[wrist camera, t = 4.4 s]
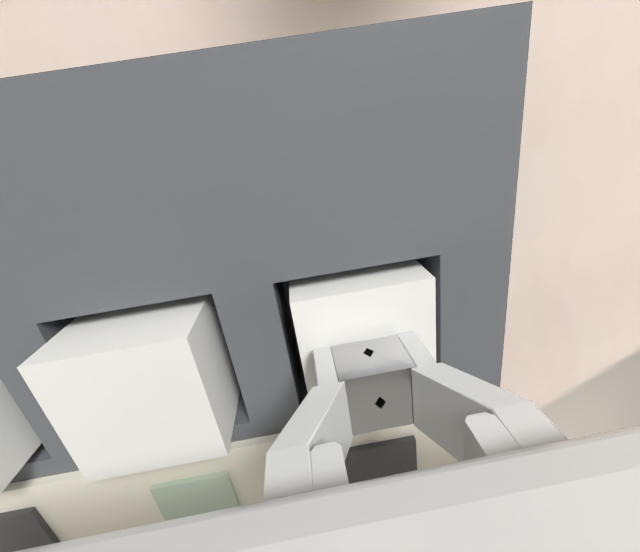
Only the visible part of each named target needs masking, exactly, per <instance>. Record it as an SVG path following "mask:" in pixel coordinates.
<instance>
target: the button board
mask: <svg viewBox="0 0 640 552" xmlns="http://www.w3.org/2000/svg"><path fill="white" fill-rule="evenodd" d="M532 2H533V1H529V2H522V3H515V4H508V5H501V6H494V7H488V8H481V9H474V10H467V11H460V12H453V13H446V14H439V15H432V16H426V17H419V18H412V19H405V20H398V21H391V22H384V23H377V24H371V25H364V26H357V27H350V28H343V29H336V30H329V31H322V32H316V33H309V34H302V35H295V36H288V37H281V38H274V39H267V40H261V41H254V42H247V43H240V44H233V45H226V46H219V47H212V48H205V49H199V50H192V51H185V52H178V53H171V54H164V55H157V56H150V57H144V58H137V59H130V60H123V61H116V62H109V63H102V64H95V65H89V66H82V67H75V68H68V69H61V70H54V71H47V72H40V73H34V74H27V75H20V76H13V77H6V78H0V379H1V381H2V382H3V384H4V385H5V387H6V388H7V390H8V391H9V393H10V394H11V396H12V398H13V399H14V401H15V402H16V404H17V405H18V407H19V408H20V410H21V411H22V413H23V415H24V416H25V418H26V419H27V421H28V422H29V424H30V425H31V427H32V428H33V430H34V432H35V433H36V435H37V436H38V438H39V439H40V441H41V442H42V443H41V445H40V446H39V447H38V448H37V450H36V451H35V452H34V453H33V454H32V456H31V457H30V458H29V459H28V461H27V462H26V463H25V464H24V466H23V467H22V468H21V469H20V471H19V472H18V473H17V474H16V476H15V477H14V478H13V479H12V481H11V482H10V483H9V484H8V485H7V487H6V488H5V489H4V490H3V492H2V493H1V494H0V552H14V551H19V550H24V549H29V548H34V547H39V546H44V545H49V544H53V543H58V542H63V541H68V540H73V539H78V538H83V537H88V536H93V535H98V534H103V533H108V532H113V531H118V530H123V529H128V528H133V527H138V526H143V525H148V524H153V523H158V522H163V521H168V520H173V519H177V518H182V517H187V516H192V515H197V514H202V513H207V512H212V511H217V510H222V509H227V508H232V507H237V506H242V505H247V504H252V503H257V502H262V501H263V498H264V482H265V465H266V453H267V451H268V450H269V448H270V447H271V446H272V444H273V443H274V441H275V440H276V438H277V437H278V436H279V434H280V433H281V431H282V430H283V428H284V427H285V426H286V424H287V423H288V421H289V420H290V418H291V417H292V415H293V414H294V413H295V411H296V410H297V408H298V407H299V405H300V404H301V403H302V401H303V400H304V398H305V397H306V395H307V394H308V392H307V387H306V382H305V377H304V372H303V367H302V362H301V357H300V352H299V348H298V343H297V338H296V333H295V328H294V323H293V318H292V313H291V308H290V301H289V281H290V280H296V279H301V278H307V277H313V276H319V275H325V274H331V273H337V272H343V271H348V270H354V269H360V268H366V267H372V266H378V265H384V264H389V263H395V262H401V261H407V260H413V259H415V260H416V261H417V262H419V263H420V264H421V265H422V266H423V267H424V268H425V269H426V270H427V271H428V272H429V273H431V274H432V275H433V276H434V277H435V285H436V363H444V364H447V365H449V366H451V367H454V368H456V369H458V370H460V371H463V372H465V373H467V374H470V375H472V376H474V377H477V378H479V379H481V380H483V381H486V382H488V383H490V384H493V385H495V386H497V387H500V380H501V368H502V356H503V344H504V332H505V321H506V309H507V297H508V285H509V273H510V262H511V250H512V238H513V226H514V214H515V203H516V191H517V179H518V167H519V155H520V144H521V132H522V120H523V108H524V96H525V84H526V73H527V61H528V49H529V37H530V25H531V14H532ZM207 294H212V297H213V300H214V303H215V307H216V310H217V313H218V316H219V320H220V323H221V326H222V330H223V333H224V336H225V340H226V343H227V346H228V350H229V353H230V356H231V360H232V363H233V366H234V370H235V373H236V376H237V380H238V383H239V386H240V394H239V399H238V405H237V410H236V416H235V421H234V427H233V432H232V438H231V443H230V449H229V454H228V456H224V457H219V458H214V459H208V460H203V461H198V462H192V463H187V464H182V465H176V466H171V467H166V468H160V469H155V470H150V471H144V472H139V473H134V474H128V475H123V476H118V477H112V478H107V479H102V480H96V481H91V482H86V480H85V478H84V477H83V475H82V473H81V472H80V470H79V469H78V467H77V465H76V464H75V462H74V460H73V459H72V457H71V456H70V454H69V452H68V451H67V449H66V447H65V446H64V444H63V443H62V441H61V439H60V438H59V436H58V434H57V433H56V431H55V429H54V428H53V426H52V425H51V423H50V421H49V420H48V418H47V416H46V415H45V413H44V412H43V410H42V408H41V407H40V405H39V403H38V402H37V400H36V398H35V397H34V395H33V394H32V392H31V390H30V389H29V387H28V385H27V384H26V382H25V381H24V379H23V377H22V376H21V374H20V372H19V371H18V369H17V367H18V366H19V365H21V364H22V363H23V362H24V361H25V360H26V359H28V358H29V357H30V356H31V355H32V354H34V353H35V352H36V351H37V350H38V349H40V348H41V347H42V346H43V345H44V344H45V343H47V342H48V341H49V340H50V339H51V338H53V337H54V336H55V335H56V334H57V333H58V332H60V331H61V330H62V329H63V328H64V327H66V326H67V325H68V324H69V323H70V322H72V321H73V320H74V319H75V318H76V317H78V316H84V315H90V314H96V313H102V312H108V311H114V310H119V309H125V308H131V307H137V306H143V305H149V304H155V303H161V302H166V301H172V300H178V299H184V298H190V297H196V296H202V295H207ZM454 462H459V461H458V460H457V459H455V458H454V457H453V456H452V455H450V454H449V453H448V452H447V451H445V450H444V449H443V448H442V447H440V446H439V445H438V444H436V443H435V442H434V441H433V440H431V439H430V438H429V437H428V436H426V435H425V434H424V433H423V432H421V431H420V430H419V429H418V428H416V427H415V426H414V424H411V425H405V426H399V427H393V428H387V429H382V430H377V431H373V432H368V433H364V434H360V435H355V436H353V440H352V442H351V445H350V448H349V451H348V453H347V456H346V459H345V466H346V471H347V476H348V481H349V484H351V483H356V482H361V481H366V480H370V479H375V478H380V477H385V476H390V475H395V474H400V473H405V472H410V471H415V470H420V469H425V468H430V467H435V466H439V465H444V464H449V463H454Z"/></svg>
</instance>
